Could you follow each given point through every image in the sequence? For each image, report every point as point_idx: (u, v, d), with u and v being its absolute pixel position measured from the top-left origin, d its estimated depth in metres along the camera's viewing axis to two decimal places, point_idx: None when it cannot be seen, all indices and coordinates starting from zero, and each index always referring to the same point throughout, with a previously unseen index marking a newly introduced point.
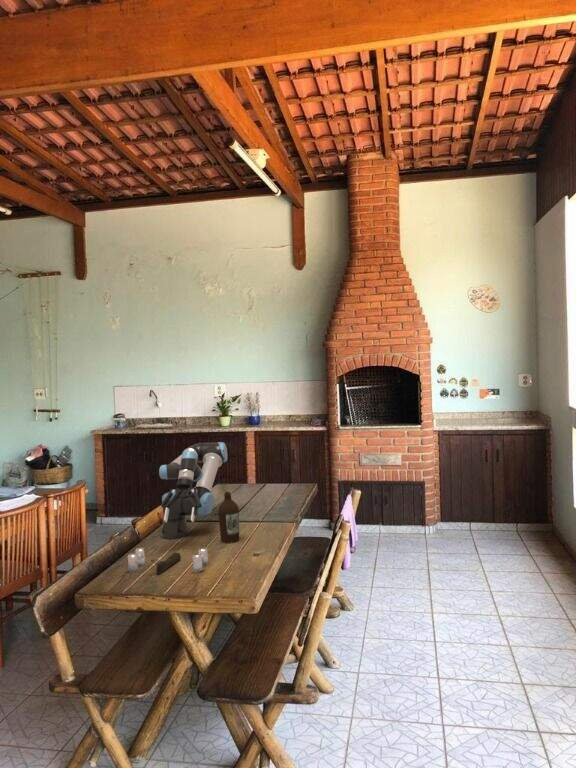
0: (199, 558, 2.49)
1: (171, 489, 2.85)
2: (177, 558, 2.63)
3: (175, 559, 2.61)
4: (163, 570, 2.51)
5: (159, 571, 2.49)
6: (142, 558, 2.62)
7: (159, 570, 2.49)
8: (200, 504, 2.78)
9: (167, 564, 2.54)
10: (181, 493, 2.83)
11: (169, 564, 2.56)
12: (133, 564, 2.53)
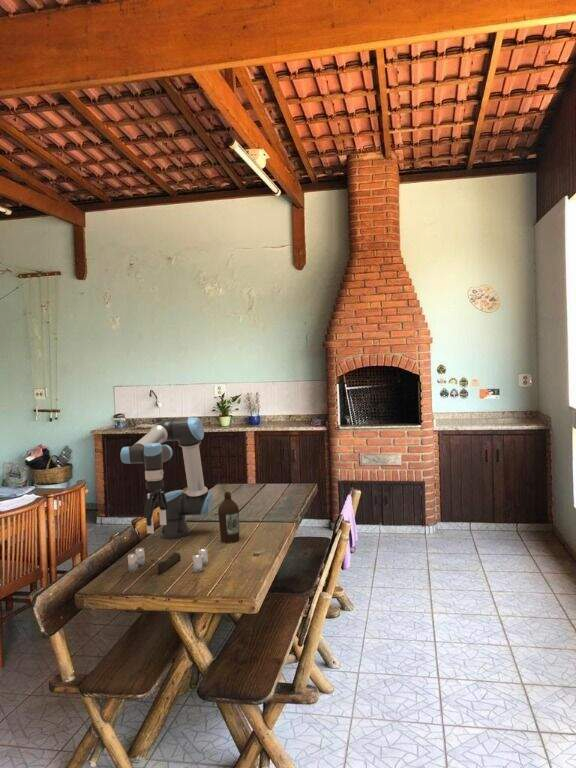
0: (199, 558, 2.49)
1: (152, 494, 2.40)
2: (177, 558, 2.63)
3: (175, 559, 2.61)
4: (164, 570, 2.51)
5: (160, 571, 2.49)
6: (142, 558, 2.62)
7: (160, 570, 2.48)
8: None
9: (168, 564, 2.54)
10: None
11: (170, 564, 2.56)
12: (133, 564, 2.53)
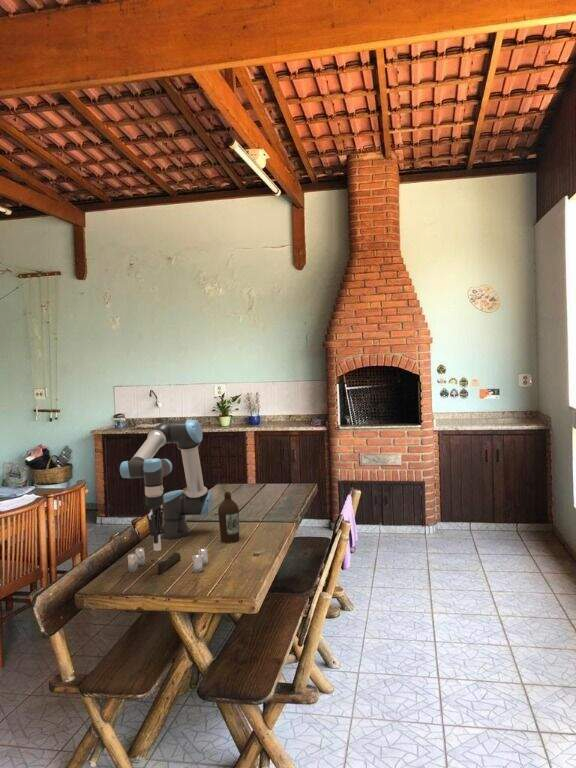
0: (199, 558, 2.49)
1: (153, 515, 2.39)
2: (177, 558, 2.63)
3: (175, 559, 2.61)
4: (164, 570, 2.51)
5: (160, 571, 2.49)
6: (142, 558, 2.62)
7: (160, 570, 2.48)
8: (162, 530, 2.48)
9: (168, 564, 2.54)
10: None
11: (169, 564, 2.56)
12: (133, 564, 2.53)
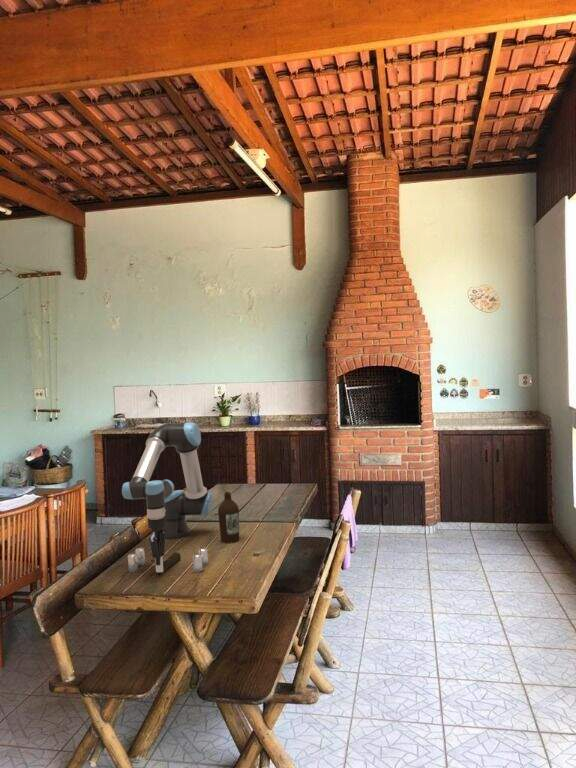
0: (199, 558, 2.49)
1: (155, 538, 2.40)
2: (177, 558, 2.63)
3: (175, 559, 2.61)
4: (164, 570, 2.51)
5: None
6: (142, 558, 2.62)
7: None
8: None
9: (168, 564, 2.54)
10: None
11: (170, 564, 2.56)
12: (133, 564, 2.53)
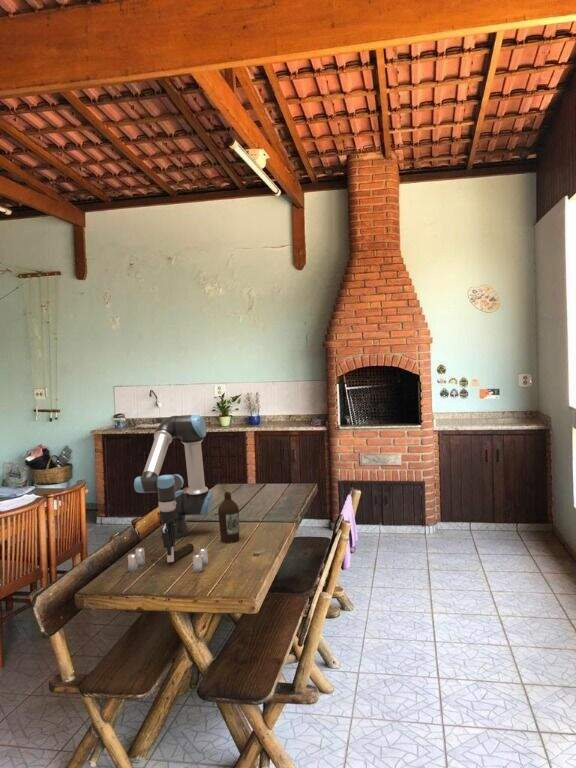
0: (199, 558, 2.49)
1: (166, 529, 2.53)
2: (190, 548, 2.75)
3: (188, 549, 2.73)
4: (175, 559, 2.64)
5: None
6: (142, 558, 2.62)
7: None
8: (174, 542, 2.63)
9: (179, 554, 2.67)
10: None
11: (181, 554, 2.68)
12: (133, 564, 2.53)
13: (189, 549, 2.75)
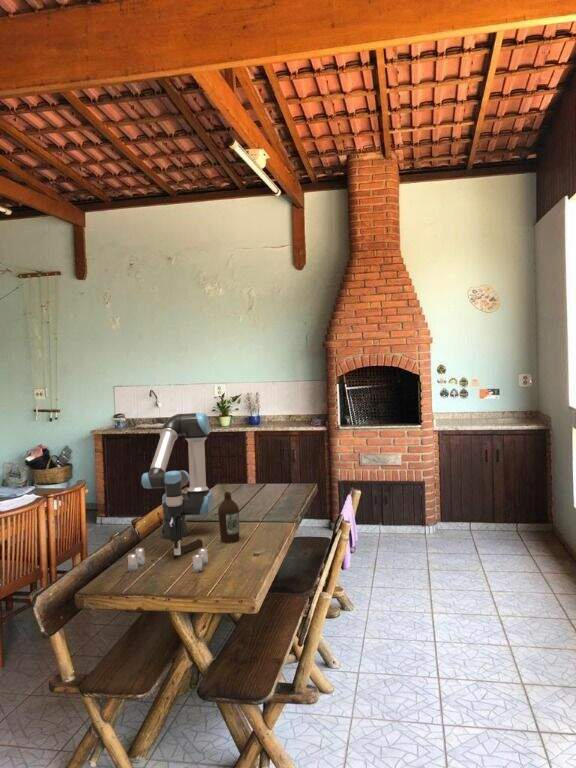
0: (199, 558, 2.49)
1: (173, 523, 2.62)
2: (198, 544, 2.82)
3: (196, 545, 2.81)
4: (180, 554, 2.72)
5: None
6: (142, 558, 2.62)
7: None
8: None
9: (186, 549, 2.75)
10: None
11: (188, 549, 2.76)
12: (133, 564, 2.53)
13: (197, 544, 2.82)
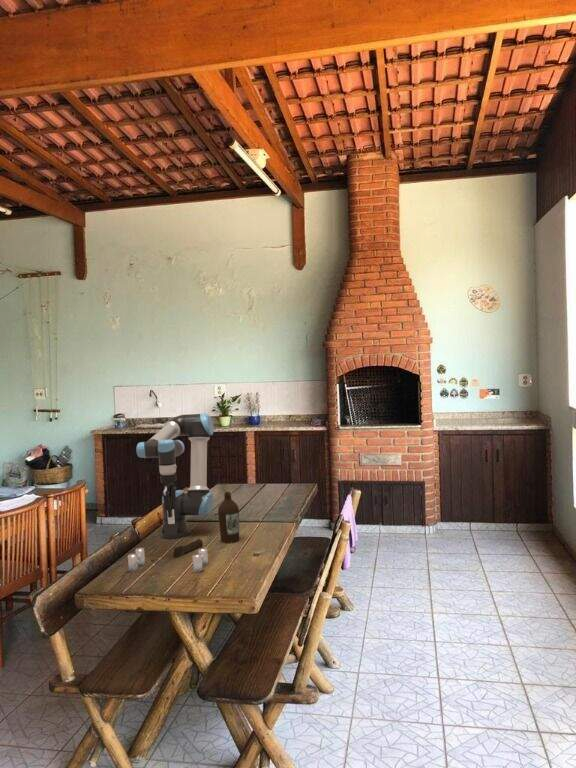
0: (199, 558, 2.49)
1: (167, 491, 2.61)
2: (199, 544, 2.82)
3: (196, 545, 2.81)
4: (181, 554, 2.72)
5: (176, 554, 2.70)
6: (142, 558, 2.62)
7: (176, 554, 2.70)
8: (175, 505, 2.70)
9: (186, 549, 2.75)
10: None
11: (188, 549, 2.76)
12: (133, 564, 2.53)
13: (197, 545, 2.82)
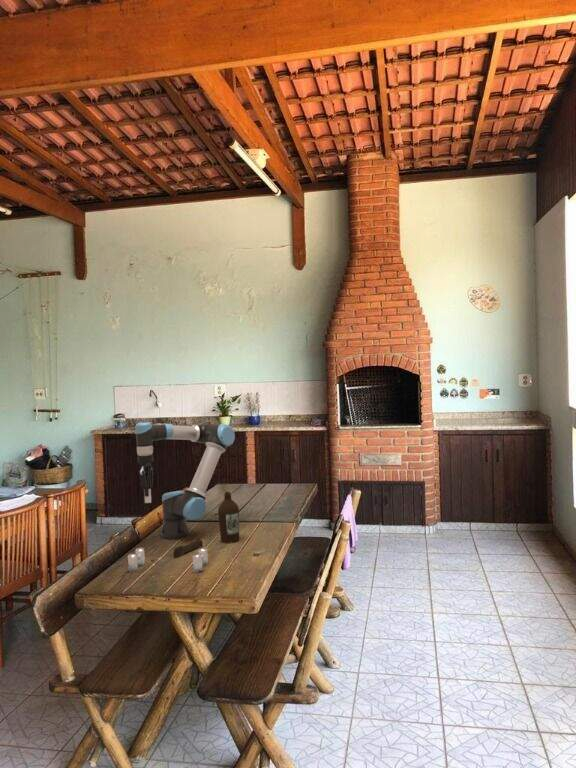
0: (199, 558, 2.49)
1: (144, 471, 2.73)
2: (198, 544, 2.82)
3: (196, 545, 2.81)
4: (181, 554, 2.72)
5: (176, 554, 2.70)
6: (142, 558, 2.62)
7: (176, 554, 2.70)
8: None
9: (186, 549, 2.75)
10: None
11: (188, 549, 2.76)
12: (133, 564, 2.53)
13: (197, 545, 2.82)
